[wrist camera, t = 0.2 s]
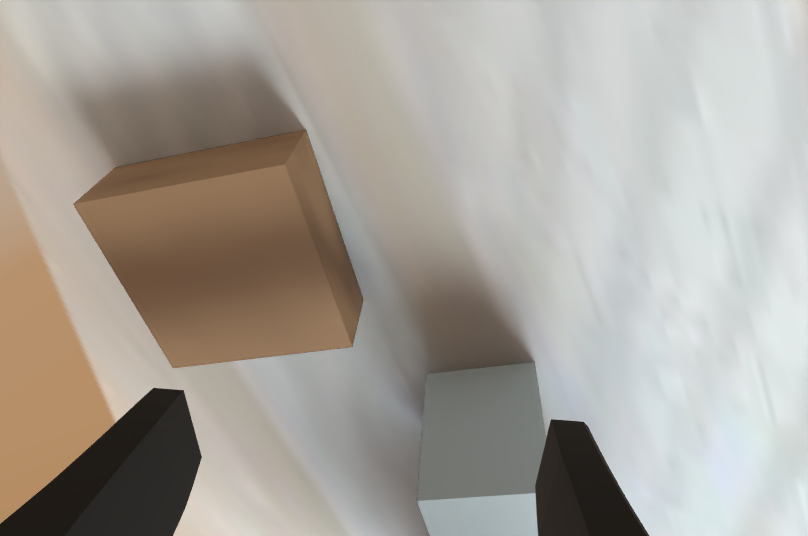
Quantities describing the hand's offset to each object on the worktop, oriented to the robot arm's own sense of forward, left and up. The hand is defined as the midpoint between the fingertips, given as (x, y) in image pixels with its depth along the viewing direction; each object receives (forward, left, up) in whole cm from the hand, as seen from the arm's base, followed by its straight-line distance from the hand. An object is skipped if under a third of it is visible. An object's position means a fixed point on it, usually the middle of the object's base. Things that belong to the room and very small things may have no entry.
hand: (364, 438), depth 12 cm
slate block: (-10, -1, -10) cm, 15 cm away
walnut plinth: (0, +6, -10) cm, 12 cm away
